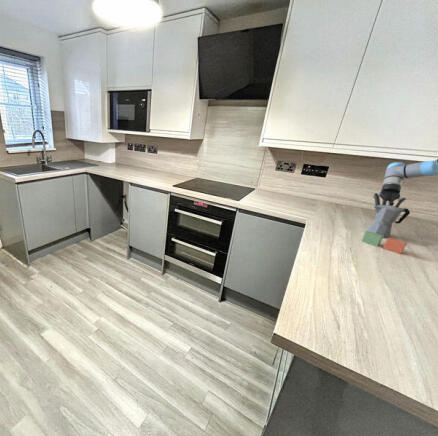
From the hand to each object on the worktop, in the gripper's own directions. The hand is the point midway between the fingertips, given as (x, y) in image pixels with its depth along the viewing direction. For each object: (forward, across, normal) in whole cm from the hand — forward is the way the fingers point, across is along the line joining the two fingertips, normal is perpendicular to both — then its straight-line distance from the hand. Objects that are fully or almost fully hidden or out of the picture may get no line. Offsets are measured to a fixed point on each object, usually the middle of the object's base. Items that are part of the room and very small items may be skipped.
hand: (382, 221), depth 126 cm
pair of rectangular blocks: (+22, +1, +13) cm, 25 cm away
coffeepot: (+7, 0, -2) cm, 8 cm away
